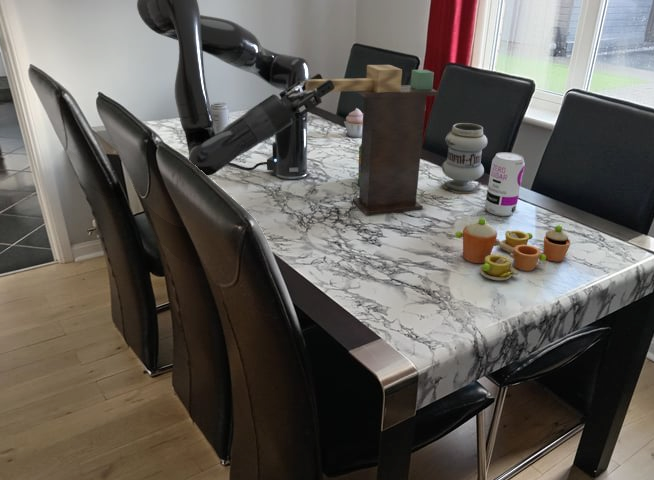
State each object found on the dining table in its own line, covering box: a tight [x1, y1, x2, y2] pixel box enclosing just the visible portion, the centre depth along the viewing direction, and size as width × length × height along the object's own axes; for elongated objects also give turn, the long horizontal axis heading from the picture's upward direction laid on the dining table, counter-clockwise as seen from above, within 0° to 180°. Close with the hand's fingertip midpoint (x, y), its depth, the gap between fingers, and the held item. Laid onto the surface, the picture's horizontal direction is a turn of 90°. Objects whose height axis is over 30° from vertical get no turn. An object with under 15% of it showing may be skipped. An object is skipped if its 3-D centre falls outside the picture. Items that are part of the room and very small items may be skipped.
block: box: [410, 69, 435, 90], centre depth 141 cm, size 4×4×4 cm
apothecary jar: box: [441, 122, 488, 194], centre depth 165 cm, size 12×12×18 cm
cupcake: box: [343, 107, 363, 138], centre depth 212 cm, size 9×9×10 cm
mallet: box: [305, 64, 403, 93], centre depth 134 cm, size 22×7×5 cm, turn 113°
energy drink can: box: [210, 102, 230, 134], centre depth 185 cm, size 6×6×15 cm
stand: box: [352, 84, 439, 216], centre depth 147 cm, size 19×10×30 cm, turn 113°
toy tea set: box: [455, 217, 572, 281], centre depth 127 cm, size 26×16×10 cm, turn 122°
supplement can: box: [484, 151, 526, 217], centre depth 151 cm, size 8×8×15 cm
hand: (326, 80), depth 132 cm, fingers open, 7 cm apart
